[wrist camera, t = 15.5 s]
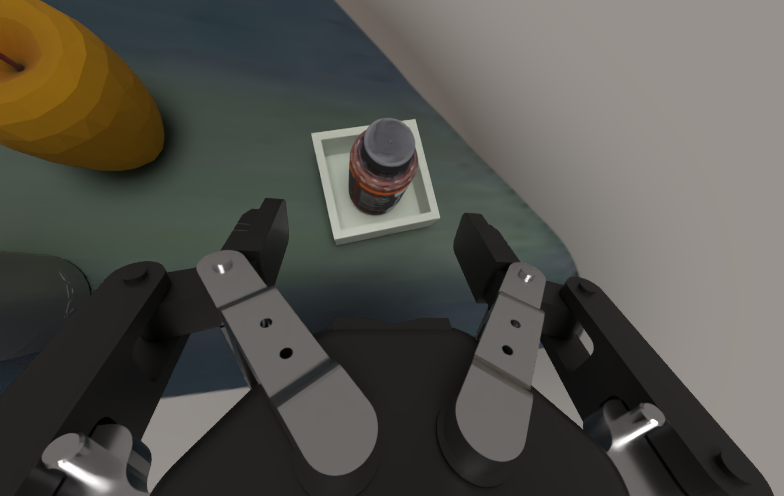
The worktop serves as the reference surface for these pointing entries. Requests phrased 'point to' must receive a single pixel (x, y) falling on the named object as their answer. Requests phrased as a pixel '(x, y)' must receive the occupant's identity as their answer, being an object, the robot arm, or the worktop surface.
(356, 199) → the supplement bottle
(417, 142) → the box
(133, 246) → the worktop surface
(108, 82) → the apple
